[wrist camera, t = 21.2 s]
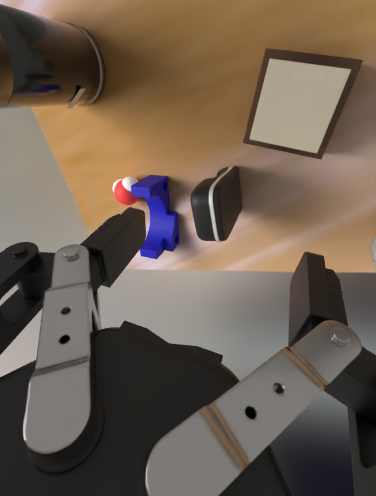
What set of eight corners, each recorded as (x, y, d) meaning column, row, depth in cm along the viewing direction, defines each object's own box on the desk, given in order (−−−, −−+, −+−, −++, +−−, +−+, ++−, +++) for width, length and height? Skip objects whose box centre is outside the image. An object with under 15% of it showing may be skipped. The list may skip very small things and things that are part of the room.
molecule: (138, 204, 45) (125, 213, 41) (117, 186, 44) (102, 194, 41) (151, 184, 42) (138, 192, 38) (128, 164, 41) (113, 170, 38)
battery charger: (212, 166, 36) (183, 191, 27) (238, 163, 35) (216, 188, 26) (218, 211, 40) (194, 247, 31) (243, 210, 38) (224, 247, 29)
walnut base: (247, 138, 33) (242, 142, 30) (269, 52, 28) (265, 47, 25) (319, 153, 31) (321, 159, 28) (356, 63, 26) (363, 59, 23)
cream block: (253, 135, 29) (249, 139, 27) (272, 61, 25) (269, 58, 23) (315, 148, 28) (317, 153, 25) (346, 71, 24) (351, 69, 21)
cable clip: (179, 243, 46) (165, 260, 41) (157, 239, 47) (140, 255, 42) (176, 177, 39) (158, 188, 34) (150, 174, 41) (130, 185, 36)
